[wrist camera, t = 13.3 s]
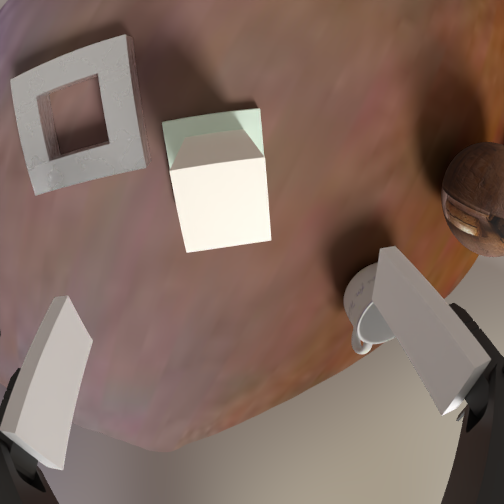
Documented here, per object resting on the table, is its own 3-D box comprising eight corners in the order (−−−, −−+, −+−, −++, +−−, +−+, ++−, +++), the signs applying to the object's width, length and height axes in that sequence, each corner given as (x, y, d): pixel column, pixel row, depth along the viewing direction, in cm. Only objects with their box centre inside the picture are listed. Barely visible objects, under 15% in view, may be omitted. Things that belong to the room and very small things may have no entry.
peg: (194, 190, 32) (186, 252, 21) (185, 137, 29) (169, 170, 18) (249, 183, 33) (271, 240, 22) (243, 129, 30) (264, 157, 19)
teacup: (366, 240, 40) (394, 274, 33) (411, 267, 44) (438, 298, 37) (310, 314, 46) (326, 353, 39) (359, 329, 49) (377, 364, 42)
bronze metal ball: (495, 142, 34) (566, 177, 21) (472, 226, 42) (531, 276, 29) (432, 119, 32) (519, 151, 19) (409, 222, 39) (475, 283, 27)
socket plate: (46, 186, 30) (35, 195, 28) (23, 78, 23) (10, 79, 20) (151, 160, 31) (146, 167, 28) (133, 38, 24) (125, 34, 21)
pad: (179, 207, 34) (178, 210, 33) (163, 121, 29) (161, 122, 28) (265, 194, 35) (267, 198, 34) (258, 108, 30) (259, 108, 29)
